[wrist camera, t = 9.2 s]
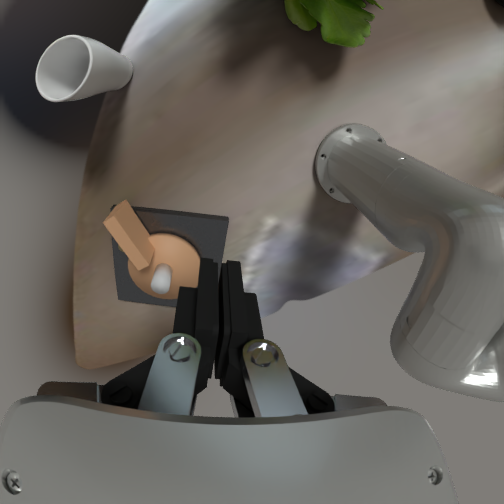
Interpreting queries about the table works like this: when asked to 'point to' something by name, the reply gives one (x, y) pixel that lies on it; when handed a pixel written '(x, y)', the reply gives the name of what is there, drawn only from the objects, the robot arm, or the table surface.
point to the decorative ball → (501, 2)
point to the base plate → (176, 223)
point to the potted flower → (333, 19)
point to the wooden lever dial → (153, 255)
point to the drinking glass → (80, 69)
